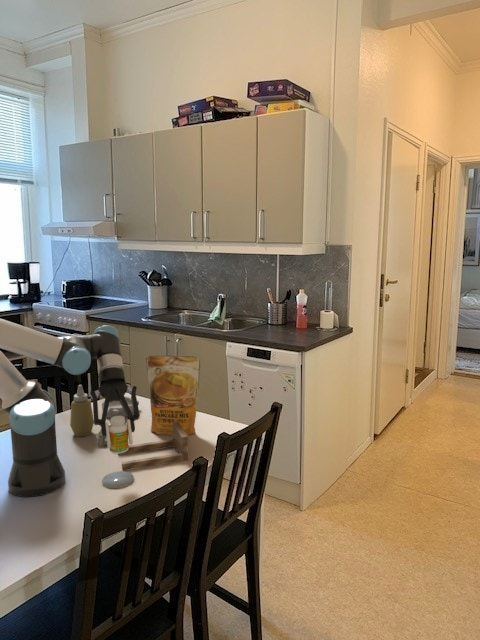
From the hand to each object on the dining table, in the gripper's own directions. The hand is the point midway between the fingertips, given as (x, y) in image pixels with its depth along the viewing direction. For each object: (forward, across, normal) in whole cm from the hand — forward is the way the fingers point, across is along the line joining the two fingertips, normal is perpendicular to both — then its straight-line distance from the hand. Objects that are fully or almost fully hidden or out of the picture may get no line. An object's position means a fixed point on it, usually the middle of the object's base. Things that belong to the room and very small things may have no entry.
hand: (120, 444), depth 138 cm
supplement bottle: (0, 0, -5) cm, 5 cm away
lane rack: (-2, -11, -20) cm, 23 cm away
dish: (-31, -6, -50) cm, 59 cm away
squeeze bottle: (-20, +9, -39) cm, 44 cm away
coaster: (+7, +1, -12) cm, 13 cm away
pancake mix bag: (-14, -22, -32) cm, 42 cm away
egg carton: (-14, 0, -33) cm, 36 cm away
